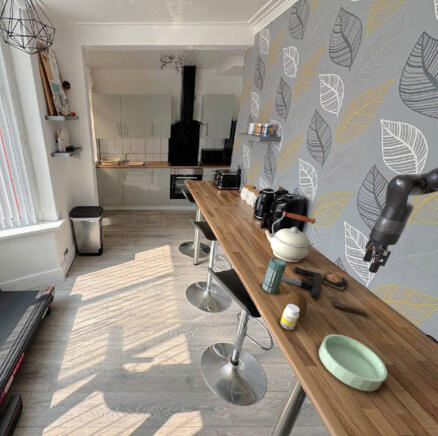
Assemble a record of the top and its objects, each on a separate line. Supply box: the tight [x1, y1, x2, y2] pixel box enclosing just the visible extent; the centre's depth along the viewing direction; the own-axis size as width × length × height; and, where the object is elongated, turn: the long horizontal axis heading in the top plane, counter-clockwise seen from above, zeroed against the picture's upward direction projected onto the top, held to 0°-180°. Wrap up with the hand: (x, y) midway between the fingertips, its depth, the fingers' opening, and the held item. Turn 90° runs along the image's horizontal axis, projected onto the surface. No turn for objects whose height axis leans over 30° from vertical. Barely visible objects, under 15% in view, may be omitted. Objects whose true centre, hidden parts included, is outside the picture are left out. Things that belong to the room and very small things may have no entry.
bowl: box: [318, 333, 388, 392], centre depth 73 cm, size 15×15×4 cm
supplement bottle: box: [279, 304, 300, 330], centre depth 86 cm, size 5×5×8 cm
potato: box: [283, 291, 308, 319], centre depth 93 cm, size 8×12×8 cm, turn 155°
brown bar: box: [333, 301, 368, 317], centre depth 96 cm, size 10×3×2 cm, turn 61°
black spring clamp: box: [281, 266, 324, 300], centre depth 111 cm, size 3×20×16 cm
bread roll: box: [322, 272, 348, 291], centre depth 112 cm, size 11×8×4 cm
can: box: [261, 256, 288, 295], centre depth 103 cm, size 6×6×15 cm
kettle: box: [264, 211, 319, 263], centre depth 129 cm, size 25×18×25 cm
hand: (368, 266), depth 91 cm, fingers open, 8 cm apart
